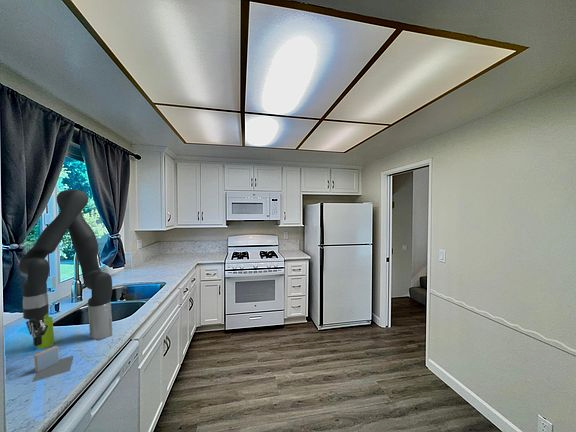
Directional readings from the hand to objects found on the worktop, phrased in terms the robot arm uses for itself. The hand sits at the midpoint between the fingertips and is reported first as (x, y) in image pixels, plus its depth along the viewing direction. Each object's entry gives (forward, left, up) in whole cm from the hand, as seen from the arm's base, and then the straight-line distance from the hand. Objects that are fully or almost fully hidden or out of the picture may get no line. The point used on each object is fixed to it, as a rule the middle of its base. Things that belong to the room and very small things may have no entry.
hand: (37, 344), depth 105 cm
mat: (-6, +8, -9) cm, 13 cm away
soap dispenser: (+1, -17, -9) cm, 19 cm away
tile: (-3, +5, -8) cm, 10 cm away
